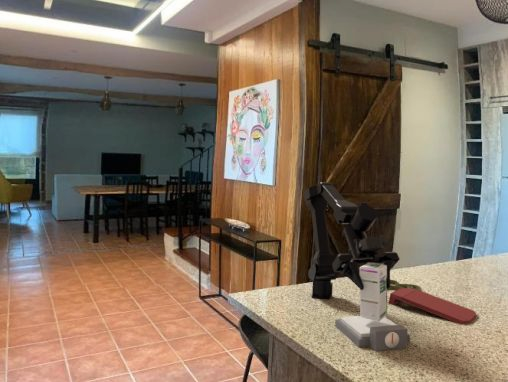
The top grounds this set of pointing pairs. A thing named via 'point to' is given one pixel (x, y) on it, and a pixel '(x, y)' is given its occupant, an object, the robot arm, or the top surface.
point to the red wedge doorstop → (433, 305)
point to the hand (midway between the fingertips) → (375, 288)
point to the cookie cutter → (402, 286)
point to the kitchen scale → (373, 333)
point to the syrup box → (373, 291)
